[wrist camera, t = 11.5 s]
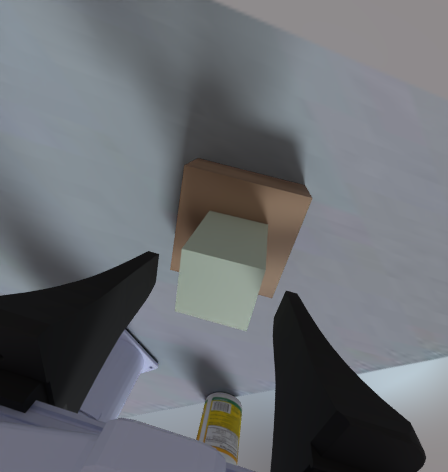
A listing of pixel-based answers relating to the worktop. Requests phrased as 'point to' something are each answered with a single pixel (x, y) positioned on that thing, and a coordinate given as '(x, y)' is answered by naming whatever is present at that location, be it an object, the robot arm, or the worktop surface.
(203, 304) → the sage brick
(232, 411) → the supplement bottle
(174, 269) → the walnut block
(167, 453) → the robot arm
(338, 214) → the worktop surface
